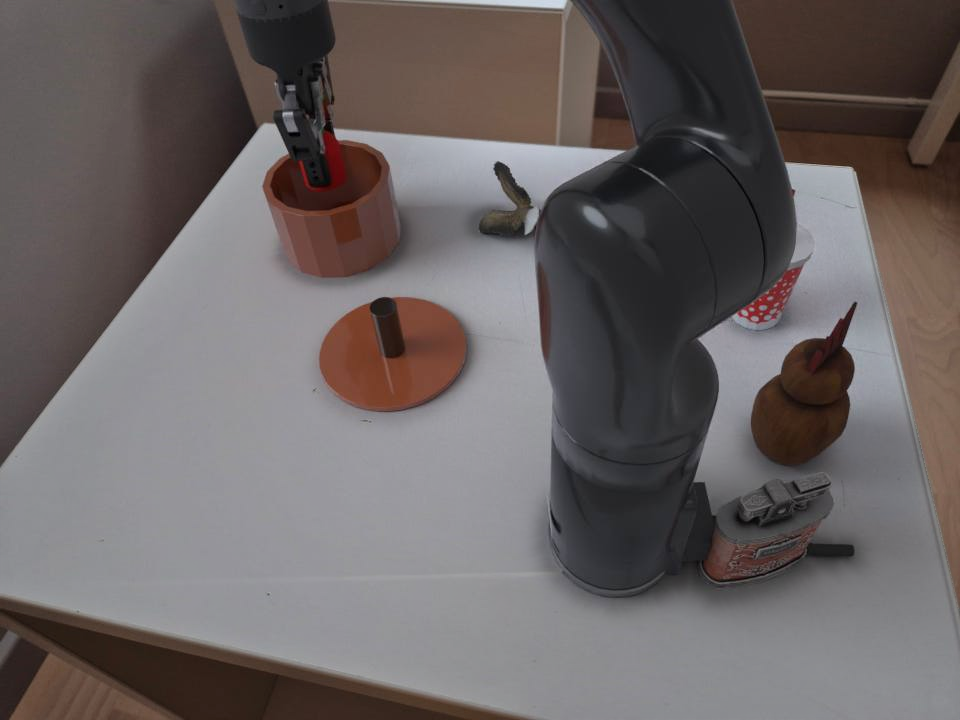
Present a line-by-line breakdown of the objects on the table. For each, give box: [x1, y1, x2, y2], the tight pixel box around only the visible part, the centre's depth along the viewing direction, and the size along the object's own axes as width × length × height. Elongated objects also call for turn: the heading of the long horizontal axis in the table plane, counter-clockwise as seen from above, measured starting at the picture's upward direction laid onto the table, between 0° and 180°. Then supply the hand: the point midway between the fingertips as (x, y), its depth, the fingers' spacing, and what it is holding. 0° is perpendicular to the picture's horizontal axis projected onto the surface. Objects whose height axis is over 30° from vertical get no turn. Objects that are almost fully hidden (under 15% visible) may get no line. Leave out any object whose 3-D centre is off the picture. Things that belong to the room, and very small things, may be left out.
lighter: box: [697, 471, 835, 590], centre depth 51 cm, size 8×3×10 cm, turn 106°
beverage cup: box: [731, 188, 816, 331], centre depth 66 cm, size 6×6×14 cm
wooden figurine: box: [749, 301, 858, 466], centre depth 55 cm, size 7×6×15 cm
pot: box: [261, 139, 402, 279], centre depth 78 cm, size 13×13×8 cm
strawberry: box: [299, 127, 347, 191], centre depth 73 cm, size 4×4×6 cm
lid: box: [318, 296, 467, 412], centre depth 67 cm, size 14×14×7 cm
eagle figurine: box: [478, 160, 541, 236], centre depth 79 cm, size 8×7×9 cm
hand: (324, 169), depth 74 cm, fingers closed on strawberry, 4 cm apart
